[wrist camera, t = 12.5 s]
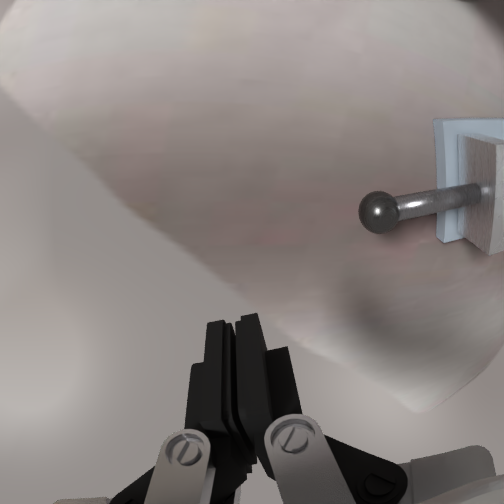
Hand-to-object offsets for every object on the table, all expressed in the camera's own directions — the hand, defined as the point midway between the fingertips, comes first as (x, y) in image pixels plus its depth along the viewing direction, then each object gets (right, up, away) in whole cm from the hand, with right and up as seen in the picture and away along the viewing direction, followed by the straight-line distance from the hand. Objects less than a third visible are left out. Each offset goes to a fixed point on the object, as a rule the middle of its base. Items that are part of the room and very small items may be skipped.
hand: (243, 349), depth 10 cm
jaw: (+11, +7, +8) cm, 16 cm away
